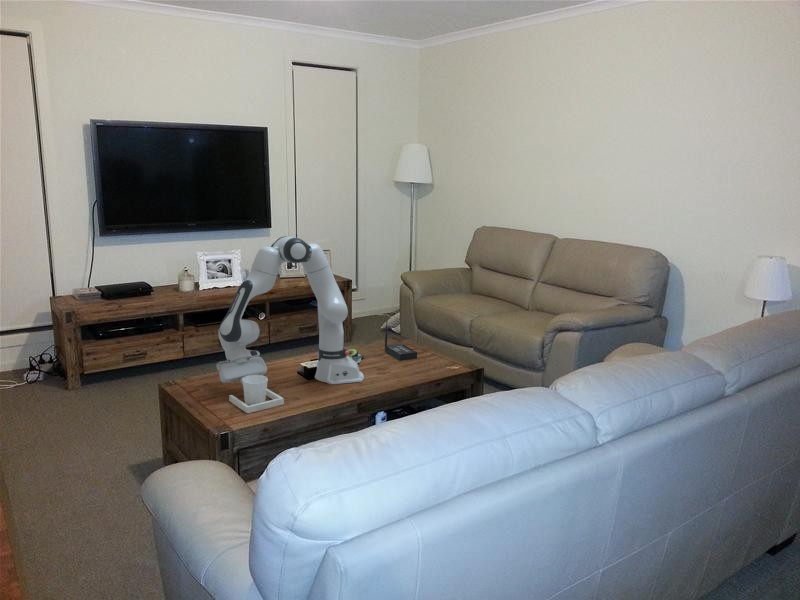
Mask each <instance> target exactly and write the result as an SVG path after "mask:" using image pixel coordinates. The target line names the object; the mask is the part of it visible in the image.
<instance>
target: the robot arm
mask: <svg viewBox="0 0 800 600" xmlns="http://www.w3.org/2000/svg"><path fill="white" fill-rule="evenodd" d="M283 263H292V264H300V263H301V265H302V266H303V270H304V272H305V274H306V279H308V283H309V286H310V288H311V291H312V292H313V294H314V297H315V298H316V301H317V316H318V317H317V320H318V321H317V322H318V330H319V331H318V334H319V336H318V340H319V341H318V348H317V367H316V372H315V375H314V379H315V380H317V381H319V382H321V383H322V382H323V383H327V384H328V385H339V384H350V383H351V384H352V383H360V382H361V383H362V382H363V381H364V380H365V376H364V373H363V372H362V371H360V368H359V364H357V363H356V362H355V361H354V360H353V359H351V358H350V357H349V351H348V350H349V349H347V348H346V347H344V340H345V339H344V338H345V337H344V336H345V332H344V325H343V322H344V321H345V320H346V319H347V317H348V314H349V310H348V305H347V304H346V303H347V302H346V301H345V298H344V295H343V294H342V292H341V290H340V287H339V285H338V283H337V281H336V279H335V276H334V273H333V270H332V268H331V266H330V262H329V261H328V257H327V256H326V253H325V252H324V250H323V249H322V247H321V246H320V245H319V244H318V243H307V242H306V241H304V240H303V239H301V238H299V237H295V236H291V235H290V236H286V235H285V236H280V237H278V238H277V239H276V240H275V241H274V242H273V243H272V244H271V246H269V245H266V246H262V247H260V248H259V250H258V251H257V253H256V255H255V257H254V260H253V262H252V264H251V267H250V270H249V273H248V275H247V277H246V278H245V280H244V281H243V282H241V283H240V285H239V287H238V289H237V291H236V293H235V294H234V297H233V299H232V301H231V304H230V307H229V308H228V311H227V313H226V314H225V316H224V318H223V319H222V321H221V322H220V325H219V328H218V331H217V332H218V337H219V342H220V344H221V347H222V349H223V350H224V353H225V358H226V360H222V361H218V362H217V363H216V370H217V372H218V374H219V379H220V382H222V383H223V384H227V383H231V382H236V381H239V382H240V383H241V384H242V385H243V381H242V379H243V378H244V377H245V376H249V375H262V376H265V375H266V373H267V372H268V367H267V364H266V361H264V359H263V357H261V356H260V355H261V354H260V351H258V350H252V349H251V350H250V349H247V348H246V346H247V345H250V344H252V343H255V342H256V341H257V340H258V339H259V338H260V335H261V329H260V325H259V323H257V322H256V321H254V320H250V319H243V318H242V317H243V316H244V312H245V311H246V308H247V306H248V304H249V302H250V300H252V299H253V298H254V297H256V296H259V295H262V294H265V293H267V292H269V291H271V290H272V289H273V287H274V285H275V282H276V280H277V277H278V274H279V270H280V267H281V266H282V264H283Z"/></svg>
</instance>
